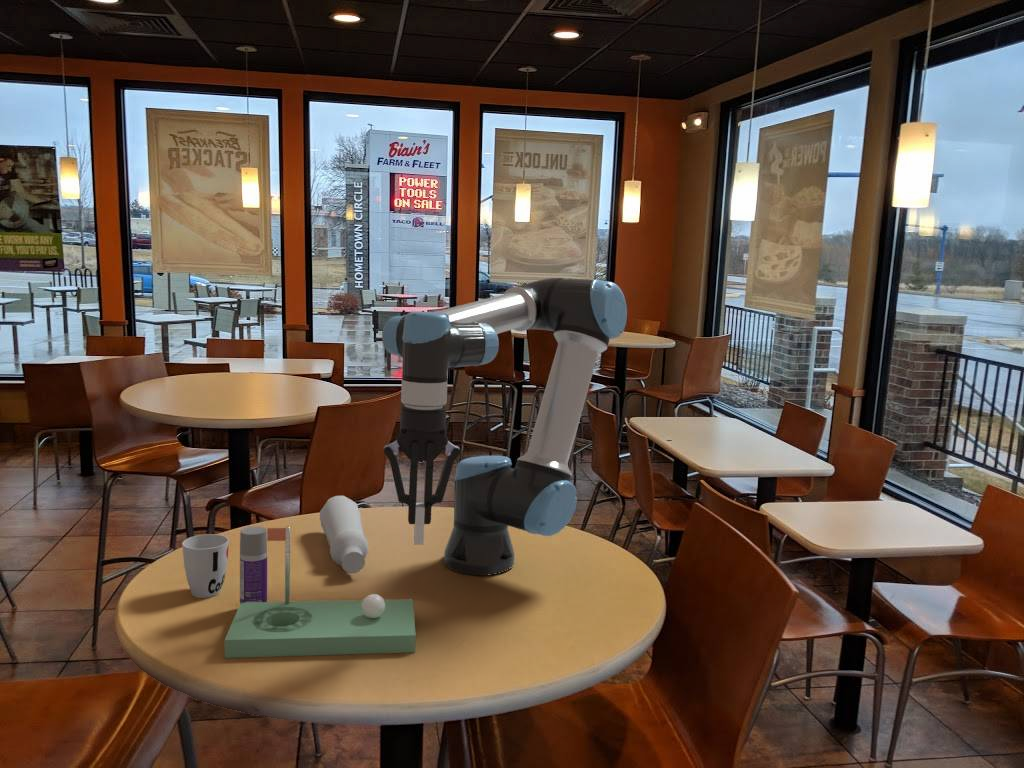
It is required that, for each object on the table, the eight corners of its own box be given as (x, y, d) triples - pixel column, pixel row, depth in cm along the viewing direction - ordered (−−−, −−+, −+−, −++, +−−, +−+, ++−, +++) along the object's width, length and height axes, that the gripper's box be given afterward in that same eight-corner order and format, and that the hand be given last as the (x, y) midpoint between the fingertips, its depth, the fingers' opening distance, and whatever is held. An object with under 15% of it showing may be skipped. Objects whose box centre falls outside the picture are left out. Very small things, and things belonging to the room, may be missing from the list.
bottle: (311, 518, 184) (320, 570, 156) (333, 486, 184) (347, 533, 156) (343, 536, 187) (359, 591, 159) (365, 505, 188) (385, 554, 159)
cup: (213, 603, 144) (213, 551, 143) (173, 597, 146) (172, 546, 145) (237, 586, 152) (237, 536, 151) (199, 581, 154) (198, 532, 152)
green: (412, 614, 144) (413, 599, 143) (415, 652, 130) (415, 635, 130) (240, 618, 139) (240, 602, 139) (224, 657, 125) (224, 640, 125)
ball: (385, 611, 138) (385, 590, 137) (384, 622, 134) (385, 599, 133) (361, 612, 137) (362, 590, 136) (360, 622, 133) (361, 600, 133)
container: (272, 607, 144) (272, 528, 142) (256, 617, 140) (256, 536, 137) (250, 602, 146) (250, 524, 143) (234, 612, 141) (233, 532, 139)
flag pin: (289, 602, 140) (290, 526, 137) (289, 604, 139) (289, 527, 137) (267, 602, 139) (267, 526, 137) (266, 604, 138) (267, 528, 136)
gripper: (460, 402, 136) (455, 534, 139) (384, 400, 134) (380, 534, 137) (465, 410, 128) (458, 549, 132) (383, 408, 126) (379, 549, 130)
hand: (418, 541), depth 134 cm, fingers closed
